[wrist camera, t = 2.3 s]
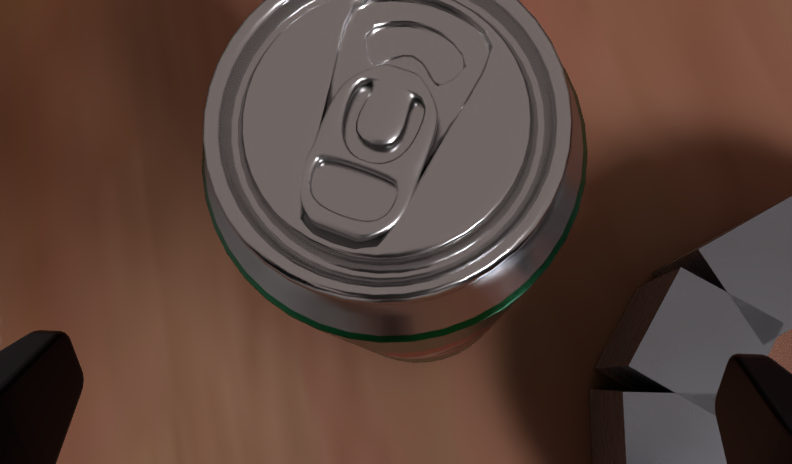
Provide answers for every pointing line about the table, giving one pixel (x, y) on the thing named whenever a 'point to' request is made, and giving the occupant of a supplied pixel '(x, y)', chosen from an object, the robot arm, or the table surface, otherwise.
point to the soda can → (393, 165)
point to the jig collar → (692, 343)
